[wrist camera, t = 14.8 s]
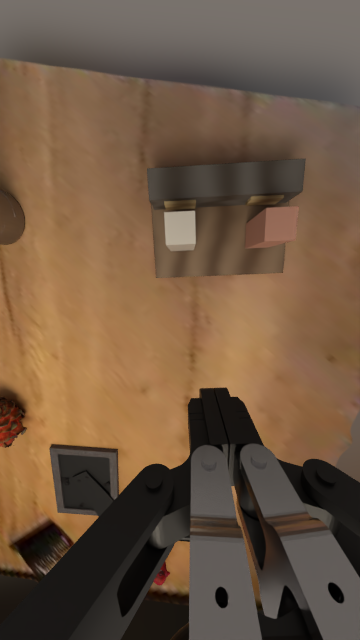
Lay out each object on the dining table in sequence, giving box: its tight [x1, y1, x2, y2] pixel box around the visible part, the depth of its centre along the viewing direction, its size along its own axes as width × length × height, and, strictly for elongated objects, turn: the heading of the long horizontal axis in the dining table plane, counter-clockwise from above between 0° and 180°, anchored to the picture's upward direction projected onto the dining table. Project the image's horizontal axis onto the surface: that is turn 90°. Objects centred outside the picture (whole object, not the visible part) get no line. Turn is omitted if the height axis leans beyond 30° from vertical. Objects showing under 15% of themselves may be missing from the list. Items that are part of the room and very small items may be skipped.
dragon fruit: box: [0, 397, 27, 448], centre depth 43 cm, size 8×8×12 cm
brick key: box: [245, 206, 299, 249], centre depth 30 cm, size 4×4×9 cm
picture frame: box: [50, 445, 119, 517], centre depth 51 cm, size 16×2×21 cm
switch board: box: [147, 159, 306, 278], centre depth 33 cm, size 23×16×6 cm
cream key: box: [164, 211, 196, 251], centre depth 31 cm, size 4×4×9 cm
